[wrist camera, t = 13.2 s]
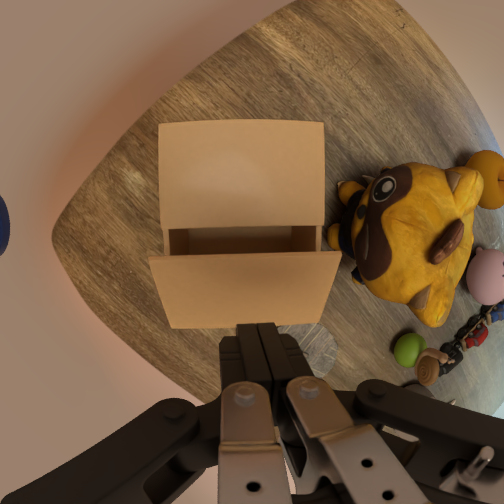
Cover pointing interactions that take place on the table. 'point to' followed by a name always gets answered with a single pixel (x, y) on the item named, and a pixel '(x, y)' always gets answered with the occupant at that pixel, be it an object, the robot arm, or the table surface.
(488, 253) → the toy
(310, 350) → the sculpture
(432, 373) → the snail figurine
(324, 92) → the table surface
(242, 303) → the flap
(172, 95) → the table surface
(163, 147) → the carton
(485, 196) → the apple
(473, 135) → the table surface
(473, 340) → the toy train
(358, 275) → the toy character
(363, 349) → the table surface
